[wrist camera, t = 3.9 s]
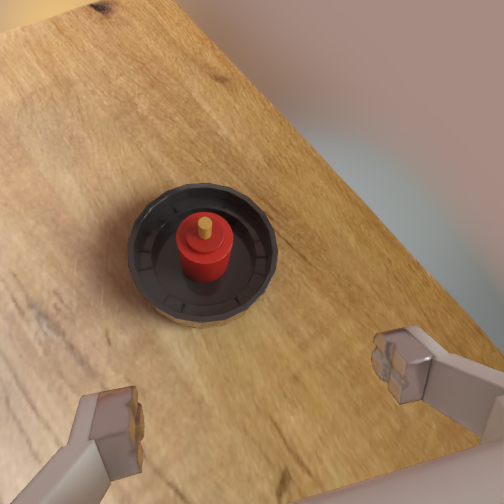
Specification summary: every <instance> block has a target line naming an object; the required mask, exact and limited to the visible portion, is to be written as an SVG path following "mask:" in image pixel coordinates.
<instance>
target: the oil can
mask: <svg viewBox="0 0 504 504" xmlns="http://www.w3.org/2000/svg"><path fill="white" fill-rule="evenodd" d="M176 242H177V247H178V252H179V256H180V261H181V266H182V269H183V271H184V272H185V274H186V275H187V276H188V277H189V278H190V279H192V280H194V281H196V282H200V283H210V282H213V281H216V280H217V279H219V278H220V277H221V276H222V275H223V274H224V273H225V271H226V270H227V267H228V263H229V258H230V253H231V249H232V244H233V233H232V229H231V227H230V225H229V224H228V223H227V221H226V220H225V219H223V218H222V217H221V216H219V215H217V214H214V213H211V212H198V213H194V214H192V215H190V216H188V217H187V218H186V219H184V220H183V221H182V223H181V224H180V226H179V227H178V230H177V233H176Z"/></svg>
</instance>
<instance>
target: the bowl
mask: <svg viewBox="0 0 504 504" xmlns="http://www.w3.org/2000/svg"><path fill="white" fill-rule="evenodd" d="M198 212H211V213H214V214H217V215H219V216H221V217H222V218H223V219H225V220H226V221H227V223H228V224H229V225H230V227H231V229H232V233H233V244H232V249H231V253H230V258H229V263H228V267H227V270H226V271H225V273H224V274H223V275H222V276H221V277H220V278H219V279H217V280H216V281H213V282H210V283H200V282H196V281H194V280H192V279H190V278H189V277H188V276H187V275H186V274H185V272H184V271H183V269H182V266H181V261H180V256H179V252H178V247H177V242H176V233H177V230H178V227H179V226H180V224H181V223H182V221H183V220H184V219H186V218H187V217H188V216H190V215H192V214H194V213H198ZM277 256H278V248H277V243H276V237H275V232H274V229H273V227H272V226H271V224H270V222H269V220H268V218H267V217H266V215H265V213H264V212H263V211H262V210H261V209H260V208H259V207H258V206H257V205H256V204H255V203H254V202H253V201H252V200H251V199H250V198H249V197H247V196H245V195H243V194H241V193H240V192H238V191H236V190H234V189H232V188H230V187H226V186H221V185H216V184H212V183H199V184H186V185H183V186H180V187H177V188H174V189H172V190H169V191H166V192H165V193H163V194H162V195H160V196H159V197H158V198H156V199H155V200H153V201H152V202H151V203H149V204H148V205H147V206H146V208H145V209H144V210H143V212H142V213H141V214H140V216H139V217H138V218H137V220H136V221H135V223H134V226H133V229H132V232H131V235H130V238H129V241H128V266H129V269H130V272H131V274H132V277H133V279H134V281H135V284H136V286H137V288H138V290H139V291H140V292H141V294H142V295H143V296H144V297H145V299H146V300H147V301H148V302H149V303H150V304H151V305H152V306H153V307H154V309H155V310H156V311H157V312H158V313H159V314H161V315H163V316H164V317H166V318H168V319H170V320H172V321H173V322H175V323H177V324H179V325H185V326H190V327H195V328H209V327H216V326H223V325H225V324H228V323H230V322H232V321H234V320H236V319H238V318H240V317H242V316H243V315H245V314H246V313H247V312H248V311H249V310H250V309H251V308H252V307H253V306H254V305H255V304H256V303H257V302H258V301H259V300H260V298H261V297H262V296H263V294H264V293H265V291H266V289H267V288H268V286H269V284H270V282H271V280H272V278H273V276H274V274H275V270H276V263H277Z"/></svg>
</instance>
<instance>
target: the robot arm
mask: <svg viewBox="0 0 504 504" xmlns="http://www.w3.org/2000/svg"><path fill="white" fill-rule="evenodd" d="M373 343H374V344H375V346H376V348H375V349H374V350H373V351H372V354H371V362H372V366H373V369H374V371H375V373H376V375H377V376H378V377H379V379H381V380H382V381H384V382H386V383H388V390H389V392H390V393H391V394H392V396H393V397H394V398H395V400H396V401H397V402H398V403H399V405H401V404H406V403H410V402H414V401H419V400H423V402H425V403H427V404H428V405H430V406H431V407H433V408H435V409H436V410H438V411H439V412H441V413H443V414H444V415H446V416H448V417H449V418H451V419H452V420H454V421H456V422H457V423H459V424H460V425H462V426H464V427H465V428H467V429H468V430H470V431H472V432H473V433H475V434H476V435H478V436H480V437H481V439H480V441H479V444H478V446H475V447H472V448H469V449H466V450H462V451H459V452H456V453H452V454H449V455H446V456H442V457H439V458H436V459H433V460H429V461H426V462H423V463H419V464H416V465H413V466H410V467H406V468H403V469H400V470H396V471H393V472H390V473H387V474H383V475H380V476H377V477H373V478H370V479H367V480H364V481H360V482H357V483H354V484H350V485H347V486H344V487H341V488H337V489H334V490H331V491H327V492H324V493H321V494H317V495H314V496H311V497H308V498H304V499H301V500H298V501H294V502H291V503H288V504H504V373H503V372H500V371H497V370H495V369H492V368H490V367H487V366H485V365H482V364H479V363H477V362H474V361H472V360H469V359H467V358H464V357H461V356H459V355H456V354H449V353H448V352H447V351H446V350H445V349H443V348H442V347H441V346H440V345H439V344H438V343H437V342H436V341H435V340H433V339H432V338H431V337H430V336H429V335H428V334H427V333H426V332H425V331H423V330H422V329H421V328H420V327H419V326H417V325H411V326H407V327H402V328H398V329H394V330H389V331H385V332H380V333H376V334H375V336H374V339H373ZM143 437H144V415H143V409H142V406H141V404H140V403H138V392H137V389H136V386H129V387H124V388H119V389H113V390H108V391H103V392H100V393H94V394H89V395H84V396H82V398H81V399H80V400H79V404H78V408H77V411H76V415H75V418H74V422H73V425H72V429H71V432H70V436H69V440H68V443H67V446H64V447H61V448H60V449H59V450H58V451H57V452H56V454H55V455H54V456H53V457H52V458H51V459H50V460H49V461H48V462H47V464H46V465H45V466H44V467H43V468H42V469H41V470H40V471H39V472H38V473H37V475H36V476H35V477H34V478H33V479H32V480H31V481H30V482H29V483H28V485H27V486H26V487H25V488H24V489H23V490H22V491H21V492H20V493H19V495H18V496H17V497H16V498H15V499H14V500H13V501H12V502H11V503H10V504H99V503H100V502H101V500H102V498H103V497H104V495H105V493H106V492H107V490H108V488H109V486H110V485H111V481H115V480H118V479H122V478H125V477H128V476H132V475H135V474H139V473H142V462H143V448H142V445H141V440H142V439H143Z"/></svg>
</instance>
